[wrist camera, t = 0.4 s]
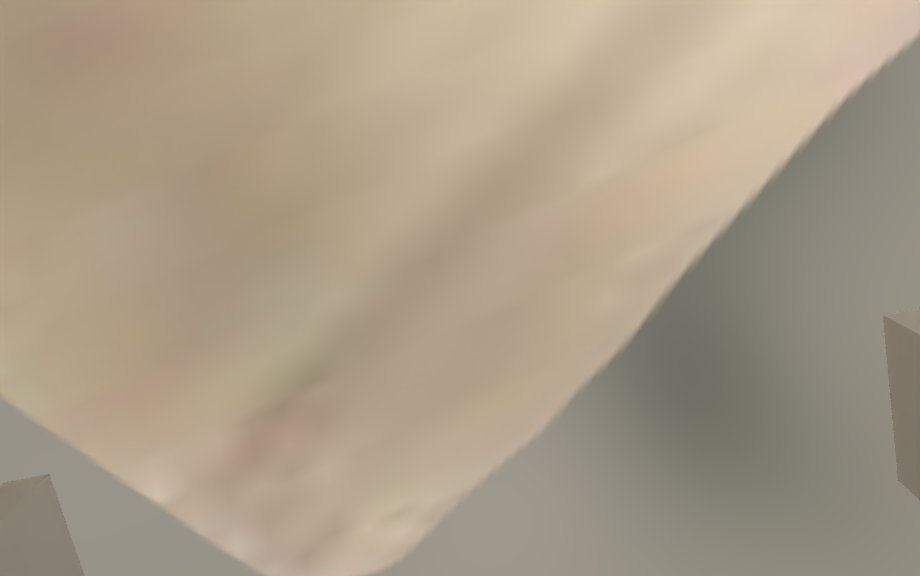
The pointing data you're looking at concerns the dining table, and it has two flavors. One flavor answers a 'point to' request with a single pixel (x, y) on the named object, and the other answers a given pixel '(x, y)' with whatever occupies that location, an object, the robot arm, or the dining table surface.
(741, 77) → the dining table surface
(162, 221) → the dining table surface
